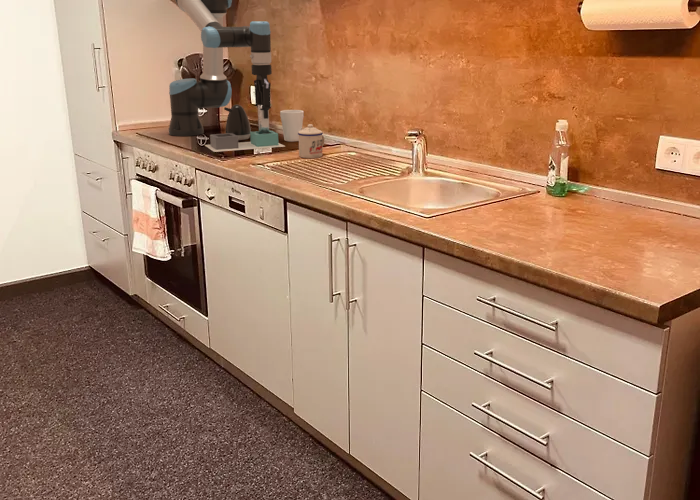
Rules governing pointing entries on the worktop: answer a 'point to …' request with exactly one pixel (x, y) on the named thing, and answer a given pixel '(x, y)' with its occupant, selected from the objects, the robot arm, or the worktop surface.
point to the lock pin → (261, 129)
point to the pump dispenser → (238, 122)
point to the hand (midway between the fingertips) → (263, 126)
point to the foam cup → (291, 124)
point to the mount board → (231, 143)
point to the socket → (264, 139)
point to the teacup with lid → (310, 142)
